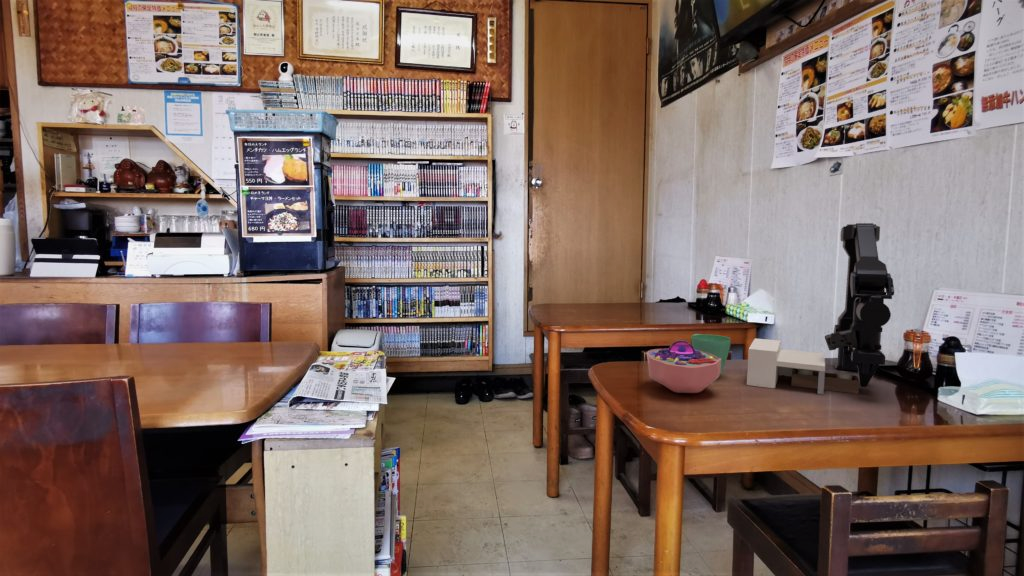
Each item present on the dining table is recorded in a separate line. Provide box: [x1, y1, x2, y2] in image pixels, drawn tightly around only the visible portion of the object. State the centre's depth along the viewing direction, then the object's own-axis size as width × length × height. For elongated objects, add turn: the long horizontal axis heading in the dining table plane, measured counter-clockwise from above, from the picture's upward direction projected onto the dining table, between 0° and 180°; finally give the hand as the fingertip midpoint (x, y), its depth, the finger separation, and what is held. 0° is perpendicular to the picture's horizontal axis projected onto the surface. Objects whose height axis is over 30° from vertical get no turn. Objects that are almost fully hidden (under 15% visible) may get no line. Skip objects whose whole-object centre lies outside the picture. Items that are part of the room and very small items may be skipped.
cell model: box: [645, 340, 721, 394], centre depth 132 cm, size 17×20×11 cm
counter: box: [746, 337, 826, 395], centre depth 141 cm, size 16×16×9 cm
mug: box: [690, 333, 732, 377], centre depth 149 cm, size 15×10×10 cm
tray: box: [791, 368, 860, 395], centre depth 137 cm, size 6×14×4 cm, turn 62°
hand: (863, 386), depth 133 cm, fingers closed, pressing on tray
